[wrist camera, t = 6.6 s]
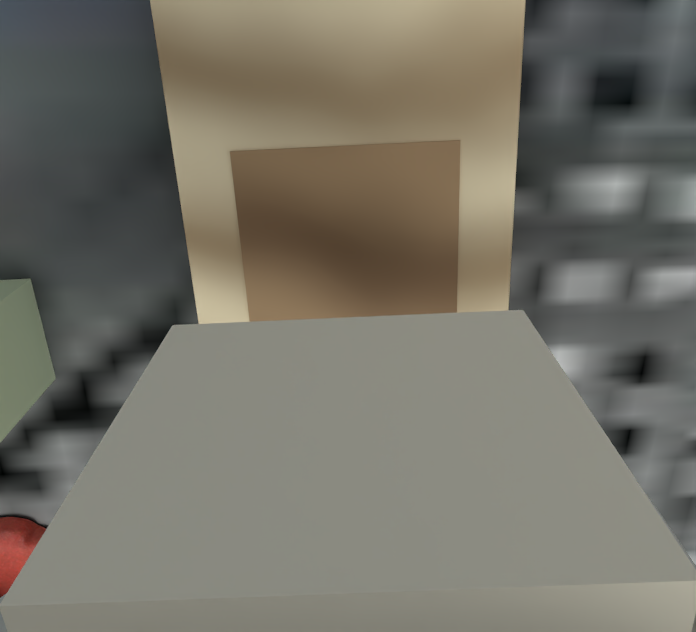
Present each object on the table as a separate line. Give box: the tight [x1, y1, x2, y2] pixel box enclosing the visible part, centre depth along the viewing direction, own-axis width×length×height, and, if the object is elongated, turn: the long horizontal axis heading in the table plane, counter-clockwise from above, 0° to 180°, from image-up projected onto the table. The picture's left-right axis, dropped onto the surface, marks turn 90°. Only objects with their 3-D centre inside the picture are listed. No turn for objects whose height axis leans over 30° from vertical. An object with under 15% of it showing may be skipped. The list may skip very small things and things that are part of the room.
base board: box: [150, 0, 525, 324], centre depth 24 cm, size 20×12×1 cm, turn 3°
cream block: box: [0, 310, 696, 632], centre depth 9 cm, size 6×6×6 cm
